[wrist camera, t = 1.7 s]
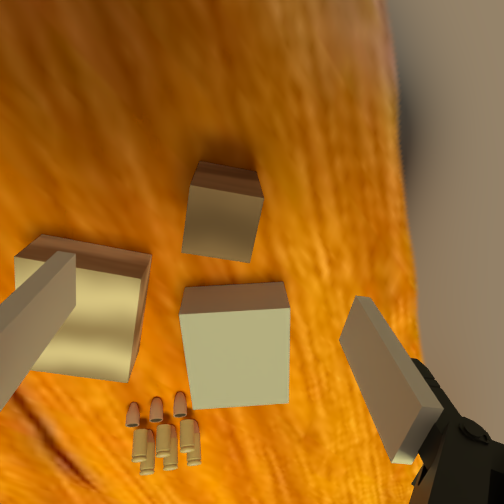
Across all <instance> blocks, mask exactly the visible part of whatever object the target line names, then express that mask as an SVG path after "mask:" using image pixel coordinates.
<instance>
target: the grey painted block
mask: <svg viewBox="0 0 504 504" xmlns="http://www.w3.org/2000/svg"><path fill="white" fill-rule="evenodd" d="M179 319H180V325H181V332H182V339H183V345H184V352H185V359H186V365H187V372H188V379H189V386H190V392H191V399H192V406H193V410H196V409H210V408H225V407H239V406H254V405H269V404H283V403H289V352H290V305H289V302H288V298H287V294H286V290H285V286H284V283H283V282H269V283H252V284H234V285H216V286H199V287H185V290H184V294H183V299H182V303H181V308H180V312H179Z"/></svg>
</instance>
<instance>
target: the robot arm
mask: <svg viewBox="0 0 504 504" xmlns="http://www.w3.org/2000/svg"><path fill="white" fill-rule="evenodd" d="M75 306H76V254H75V253H68V252H61V251H57V252H56V253H55V254H54V255H53V256H51V257H50V258H49V259H48V260H47V261H46V262H45V263H44V264H43V265H42V266H41V267H40V268H39V269H38V270H37V271H35V272H34V273H33V274H32V275H31V276H30V277H29V278H28V279H27V280H26V281H25V282H24V283H23V284H22V285H21V286H19V287H18V288H17V289H16V290H15V291H14V292H13V293H12V294H11V295H10V296H9V297H8V298H7V299H6V300H4V301H3V302H2V303H1V304H0V411H1V410H2V409H3V407H4V406H5V404H6V403H7V402H8V400H9V399H10V397H11V396H12V395H13V393H14V392H15V390H16V389H17V388H18V386H19V385H20V383H21V382H22V381H23V379H24V378H25V376H26V375H27V374H28V372H29V371H30V369H31V368H32V367H33V365H34V364H35V362H36V361H37V360H38V358H39V357H40V355H41V354H42V353H43V351H44V350H45V348H46V347H47V346H48V344H49V343H50V341H51V340H52V339H53V337H54V336H55V334H56V333H57V332H58V330H59V329H60V327H61V326H62V325H63V323H64V322H65V320H66V319H67V318H68V316H69V315H70V313H71V312H72V311H73V309H74V308H75ZM339 341H340V344H341V346H342V348H343V351H344V353H345V355H346V358H347V360H348V362H349V365H350V367H351V369H352V372H353V374H354V376H355V379H356V381H357V384H358V386H359V388H360V391H361V393H362V395H363V398H364V400H365V402H366V405H367V407H368V409H369V412H370V414H371V416H372V419H373V421H374V423H375V426H376V428H377V431H378V433H379V435H380V438H381V440H382V442H383V445H384V447H385V449H386V452H387V454H388V456H389V459H390V461H391V463H399V464H412V463H413V461H414V459H415V458H416V456H417V454H418V453H419V455H420V457H421V459H422V461H423V463H424V464H423V465H422V467H421V469H420V470H419V472H418V474H417V475H416V477H415V479H414V480H413V482H412V485H413V486H414V490H413V493H412V496H411V499H410V502H409V504H504V444H501V443H498V442H495V441H493V440H492V439H491V438H490V436H489V435H488V433H487V432H486V431H485V430H484V429H483V428H482V427H481V426H480V425H478V424H477V423H475V422H474V421H472V420H470V419H468V418H466V417H462V416H461V415H460V414H459V413H458V411H457V410H456V408H455V407H454V405H453V404H452V403H451V401H450V400H449V398H448V397H447V395H446V394H445V393H444V391H443V390H442V389H441V388H440V385H439V384H438V383H437V381H436V380H434V379H435V378H434V377H433V375H432V374H431V372H430V371H429V370H428V368H427V367H426V366H424V365H423V364H422V363H421V362H420V361H419V360H418V359H414V358H410V357H409V355H408V354H407V352H406V351H405V349H404V348H403V346H402V345H401V343H400V342H399V340H398V339H397V337H396V336H395V334H394V333H393V331H392V330H391V328H390V327H389V325H388V324H387V322H386V321H385V319H384V318H383V316H382V315H381V313H380V312H379V310H378V308H377V307H376V305H375V304H374V302H373V301H372V299H371V298H369V297H362V296H355V299H354V302H353V304H352V307H351V310H350V312H349V315H348V318H347V320H346V323H345V326H344V328H343V331H342V334H341V336H340V339H339Z"/></svg>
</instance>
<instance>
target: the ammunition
mask: <svg viewBox="0 0 504 504" xmlns="http://www.w3.org/2000/svg"><path fill="white" fill-rule="evenodd" d="M186 415H187V404H186V399H185V396H184V394H183V393H182V392H178V393H177V395H176V397H175V400H174V417H184V416H186ZM139 419H140V413H139V410H138V406H137V403H135V402H134V403H131V405H130V408H129V410H128V413H127V415H126V427H136V426H139ZM162 420H163V405H162V401H161V399H160V398H154V399H153V401H152V404H151V408H150V422H160V421H162ZM180 448H181V449H180V452H181V453H187V461H188V463H187V465H188V466H195V465H199V464H201V461H200V460H201V447H200V433H199V427H198V424H197V422H196V421H195V420H192V419H186V420H182V421H180ZM156 453H157V454H156V457H158V458H162V457H164V461H163V465H164V468H163V470H165V471H168V470H175V469H177V468H178V466H177V464H178V449H177V434H176V429H175V427H174V425H169V424H162V425H158V426H157V437H156ZM132 458H133V459H132V462H140V470H141V472H140V475H150V474H153V473H154V466H155V440H154V437H153V433H152V430H147V429H138V430H135V431H134V437H133V450H132Z"/></svg>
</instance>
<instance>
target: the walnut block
mask: <svg viewBox="0 0 504 504" xmlns="http://www.w3.org/2000/svg"><path fill="white" fill-rule="evenodd" d="M263 201H264V196H263V193H262V189H261V186H260V182H259V179H258V176H257V172H256V171H250V170H245V169H240V168H234V167H229V166H224V165H219V164H213V163H208V162H203V161H199V164H198V166H197V169H196V171H195V174H194V176H193V179H192V181H191V184H190V190H189V197H188V205H187V213H186V221H185V228H184V236H183V244H182V252H181V253H188V254H194V255H201V256H207V257H214V258H220V259H227V260H233V261H240V262H246V263H250V260H251V255H252V251H253V246H254V242H255V237H256V233H257V228H258V224H259V219H260V215H261V210H262V206H263Z"/></svg>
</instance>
